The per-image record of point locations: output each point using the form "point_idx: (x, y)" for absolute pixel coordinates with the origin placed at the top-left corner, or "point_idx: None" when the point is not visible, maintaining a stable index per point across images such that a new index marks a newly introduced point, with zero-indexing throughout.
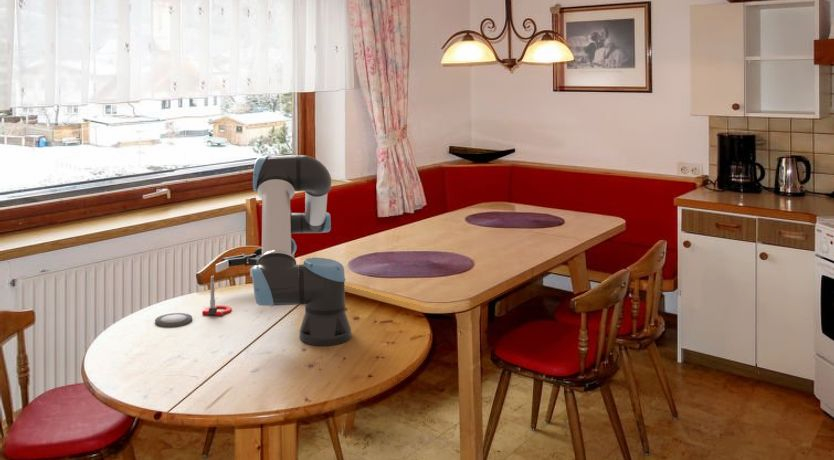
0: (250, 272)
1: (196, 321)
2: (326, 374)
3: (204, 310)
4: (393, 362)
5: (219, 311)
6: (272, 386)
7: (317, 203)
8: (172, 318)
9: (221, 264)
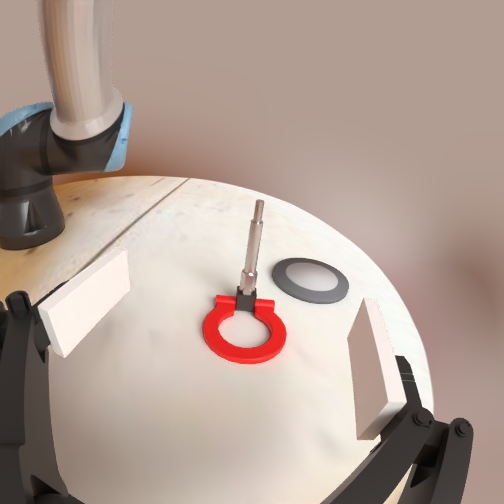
0: (126, 266)
1: (262, 280)
2: (69, 193)
3: (271, 302)
4: None
5: (229, 306)
6: (117, 185)
7: None
8: (313, 274)
9: (367, 336)
